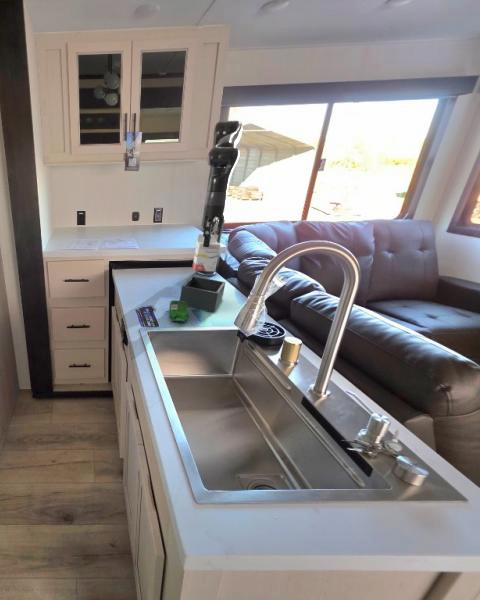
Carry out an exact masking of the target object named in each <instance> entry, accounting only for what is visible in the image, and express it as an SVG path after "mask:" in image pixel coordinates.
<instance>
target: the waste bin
mask: <svg viewBox="0 0 480 600" xmlns="http://www.w3.org/2000/svg"><path fill="white" fill-rule="evenodd" d="M225 286H226V281H224V280H216V279H211V278H207V277H206V278H205V277H201V276H195V275H191V276H190V277H189V278H188V279H187V280H186V281H185V282H184V283H183V284H182V285H181V288H180V289H181V290H180V297H179V301H185V302H187V305H188V308H192V309H197V310H201V311H204V312H208V313H212V314H213V313H215V312H216V311H217V309H218V308H219V306H220V304H221V302H222V301H223V297H224V291H225Z"/></svg>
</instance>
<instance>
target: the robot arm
mask: <svg viewBox="0 0 480 600" xmlns="http://www.w3.org/2000/svg"><path fill="white" fill-rule="evenodd" d="M242 132H243V123H242V122H241V121H240V120H222V121H221V120H220V121H217V122H216V124H215V126H214V130H213V137H212V138H213V139H212V148H211V149H210V150H209V152H208V154H207V159H206V161H207V165H208V166H209V172H208V178H207V179H208V180H207V188H206V195H205V201H204V207H203V215H202V219H201V228H202V230H203V237H205V238H204V243H203V246H204V247H209V244H210V239H211V235H218V239H217V242H218V243H219V244H220V245H221V240H222V234H223V230H224V226H225V222H226V214H225V208H226V204H227V198H228V197H227V195H228V190H229V183H230V180H231V176H232V173H233V171H234V169H235V167H236V164H237V163H238V160H239V157H240V149H239V148H238V147H236V146H237V145H238V143H240V139H241V137H242ZM216 268H218V267H217V265H216ZM196 273H197V274H198V275H200V276H203V277H204V276H205V277H211V276H212V277H213V276H215V273H216V271H215V272H212V271H196Z"/></svg>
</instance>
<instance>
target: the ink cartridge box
mask: <svg viewBox="0 0 480 600" xmlns="http://www.w3.org/2000/svg"><path fill="white" fill-rule="evenodd" d="M204 238H205V237H203V234H201V233H199V234H198V236H197V241H196V244H195V249H194V250H195V251H194V256H193V262H192V268H193V270H194V271H195V272H197V271H212V272H215V273H216V269H217V267H216V266H217V264H218V260H219V255H220V249H221V243H220V244H219V243H218V242H217V239H218V235H211V239H210V244H209V247H204V246H203V243H204Z"/></svg>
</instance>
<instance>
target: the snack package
mask: <svg viewBox="0 0 480 600" xmlns="http://www.w3.org/2000/svg"><path fill="white" fill-rule="evenodd" d="M168 313H169V314H168V317H169V320H170V321H172V322H188V321H189V307H188V305H187V302H185V301H180V300H171V301H170V303H169V311H168Z"/></svg>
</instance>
